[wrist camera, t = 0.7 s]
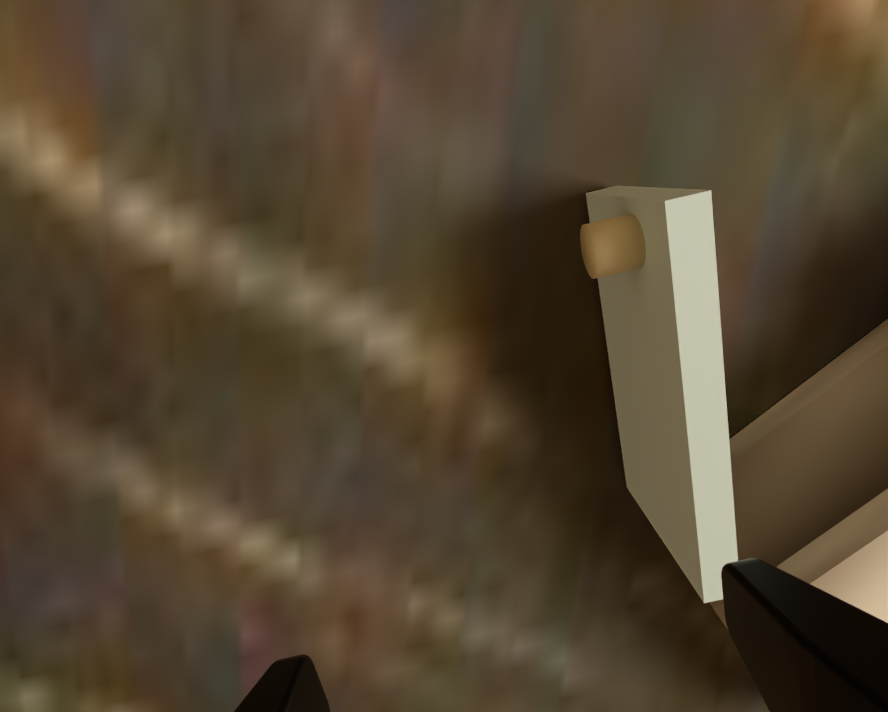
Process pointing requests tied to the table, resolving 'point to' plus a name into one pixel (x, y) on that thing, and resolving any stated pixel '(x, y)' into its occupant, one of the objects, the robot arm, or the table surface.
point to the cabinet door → (667, 367)
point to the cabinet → (821, 480)
